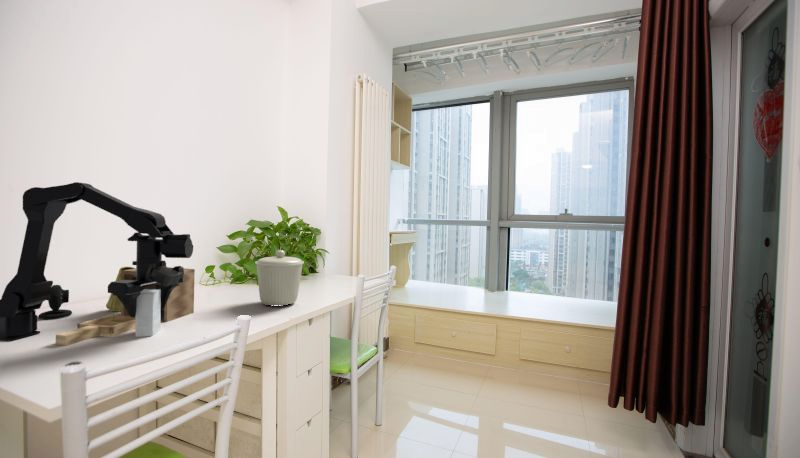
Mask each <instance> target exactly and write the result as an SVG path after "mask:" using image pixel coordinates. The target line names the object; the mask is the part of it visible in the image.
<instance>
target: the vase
mask: <svg viewBox="0 0 800 458" xmlns="http://www.w3.org/2000/svg"><path fill="white" fill-rule="evenodd" d="M135 268H136V267H132V266H122V267H120V268H119V270H118V274H117V275H116V278H115V281H120V280H121V271H122V270H129V269H135ZM105 308H106V309H108V310H109V311H112V312H121V301H120V300H119V298H118V297H117V296H116V295H113V293H110V295H109V297H108V300H107V302H106V305H105Z"/></svg>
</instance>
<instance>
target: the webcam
mask: <svg viewBox="0 0 800 458" xmlns="http://www.w3.org/2000/svg"><path fill="white" fill-rule="evenodd" d="M45 301H47V302H48V306H49V308H50V309H51V310H46V311H43V312H41V313H39V314H38V315H37V318H38V319H40V320H47V321H48V319H49V320H57V319H63V318H66V317H67V318H68V317H69V316H71V315H72V314H73V312H72V310H70V309H64V308H63V309H62V308H61V307H62V305H63V304H66V303H69V301H70V291H69V289H63V288H62V286H61V285H60V284H52V287H51V295H49V296H48V297H47V299H46V300H45ZM60 308H61V309H60Z"/></svg>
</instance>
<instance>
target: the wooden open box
mask: <svg viewBox="0 0 800 458" xmlns="http://www.w3.org/2000/svg"><path fill="white" fill-rule="evenodd" d="M167 267H168V266H167ZM134 268H135V269H129V270H122V271H121V280H132V276H136V267H134ZM168 268H172V267H170V266H169V267H168ZM183 268H184V267H183ZM195 271H196V270H195V269H194V268H184V275H183V276H184V277H183V282H181V283H177V284H180V285H179V286H176V287H175V288H174V289H173V290H172V291H171V293H170V295H169V298H168V300H167V303H166V305H165V307H164V309H161V311H163V313H164V314H163V317H164V318H163V321H164V322H165V323H167V322H171V321H173V320H176V319H178V318H179V319H180V318H182V317H186V316H188V315H191V314H194V313H195V308H194V307H195V275H196V273H195ZM132 281H136V280H132ZM151 282H153V281H151ZM144 289H156V285H155V284H154V285H149V286H144V287H140V290H139V291H138V293H139V292H141V291H143V290H144ZM193 312H194V313H193ZM190 313H191V314H190ZM120 315H124V316H130V315H129V313H128V312H127V310H126V308H125V307H124V305H123V304H122V302H121V311H120Z"/></svg>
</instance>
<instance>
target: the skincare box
mask: <svg viewBox="0 0 800 458" xmlns="http://www.w3.org/2000/svg"><path fill="white" fill-rule="evenodd" d="M139 293H141V294H140V295H139V296H138V297H137V305H136V315H135V317H136V323H135V324H136V326H135V329H134V330H135V337H136V338H143V337H153V336H154V335H156V333H157V332H158V331H160V330H161V289H144V290H143V291H141V292H139Z"/></svg>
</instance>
